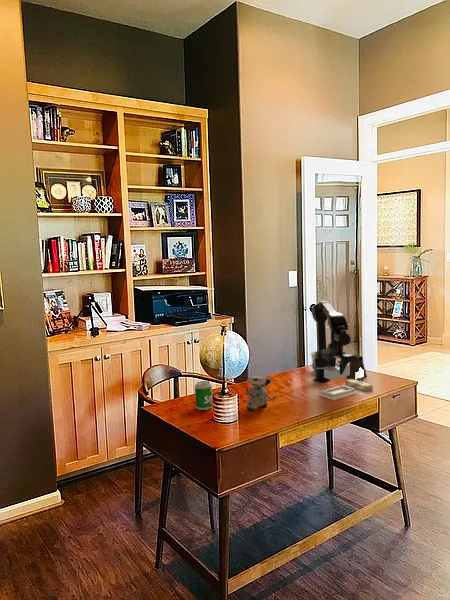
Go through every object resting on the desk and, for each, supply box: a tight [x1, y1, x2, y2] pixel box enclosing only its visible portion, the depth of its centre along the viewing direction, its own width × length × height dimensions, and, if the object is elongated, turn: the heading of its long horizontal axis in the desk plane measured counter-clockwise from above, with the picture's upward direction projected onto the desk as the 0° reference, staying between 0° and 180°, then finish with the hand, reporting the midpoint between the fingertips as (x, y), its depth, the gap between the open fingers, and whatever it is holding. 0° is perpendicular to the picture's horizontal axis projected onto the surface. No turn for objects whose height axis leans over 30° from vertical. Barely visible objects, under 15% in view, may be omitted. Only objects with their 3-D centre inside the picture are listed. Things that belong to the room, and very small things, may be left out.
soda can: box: [194, 380, 213, 411], centre depth 223 cm, size 8×8×12 cm
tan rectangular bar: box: [345, 378, 374, 393], centre depth 245 cm, size 14×4×3 cm, turn 32°
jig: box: [318, 384, 357, 401], centre depth 236 cm, size 15×10×2 cm, turn 123°
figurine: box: [245, 375, 277, 412], centre depth 219 cm, size 9×12×15 cm
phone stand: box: [346, 354, 368, 379], centre depth 263 cm, size 9×6×12 cm, turn 124°
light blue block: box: [324, 363, 350, 381], centre depth 235 cm, size 12×5×5 cm, turn 123°
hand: (337, 373), depth 235 cm, fingers closed on light blue block, 5 cm apart
